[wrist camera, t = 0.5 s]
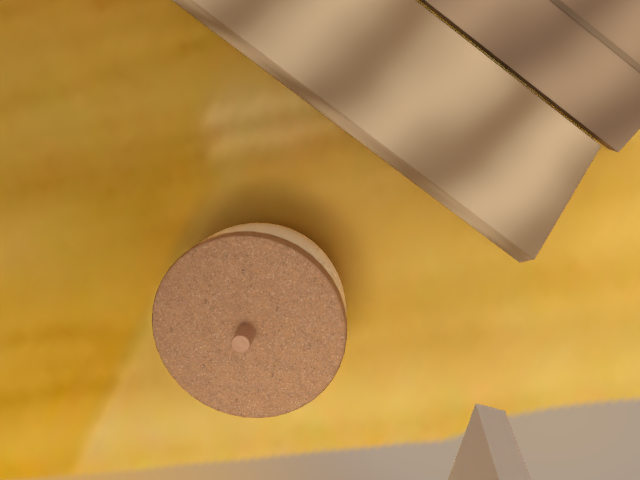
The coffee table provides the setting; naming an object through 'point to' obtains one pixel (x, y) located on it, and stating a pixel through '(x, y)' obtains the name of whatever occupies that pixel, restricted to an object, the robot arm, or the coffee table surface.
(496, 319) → the coffee table surface
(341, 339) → the lidded jar
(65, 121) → the coffee table surface
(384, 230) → the coffee table surface
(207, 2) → the plank
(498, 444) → the robot arm
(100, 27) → the coffee table surface
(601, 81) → the laid board
